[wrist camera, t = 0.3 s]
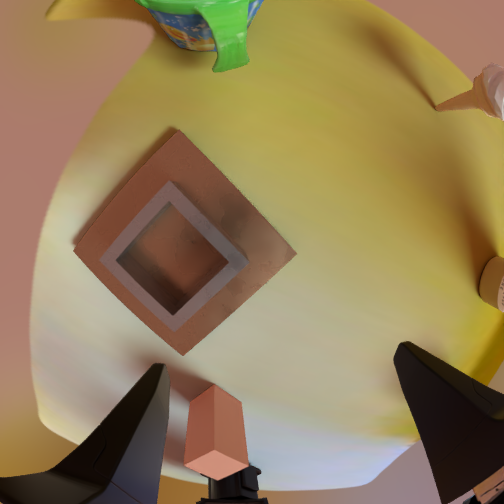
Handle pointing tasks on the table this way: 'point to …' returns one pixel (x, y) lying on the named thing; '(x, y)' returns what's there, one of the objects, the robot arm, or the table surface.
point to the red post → (215, 435)
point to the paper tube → (493, 283)
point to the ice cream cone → (481, 94)
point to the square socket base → (182, 245)
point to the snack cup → (207, 26)
